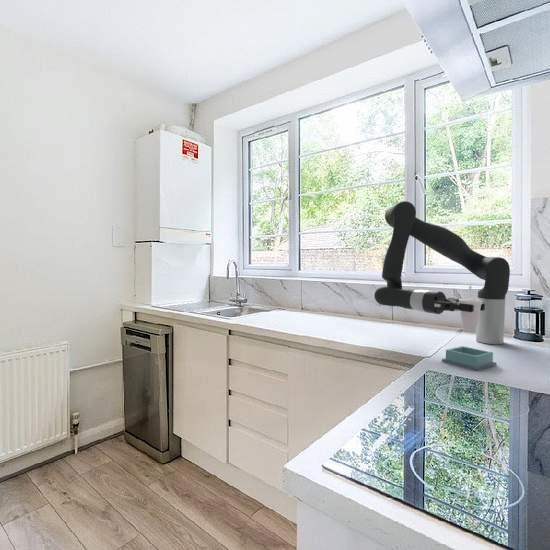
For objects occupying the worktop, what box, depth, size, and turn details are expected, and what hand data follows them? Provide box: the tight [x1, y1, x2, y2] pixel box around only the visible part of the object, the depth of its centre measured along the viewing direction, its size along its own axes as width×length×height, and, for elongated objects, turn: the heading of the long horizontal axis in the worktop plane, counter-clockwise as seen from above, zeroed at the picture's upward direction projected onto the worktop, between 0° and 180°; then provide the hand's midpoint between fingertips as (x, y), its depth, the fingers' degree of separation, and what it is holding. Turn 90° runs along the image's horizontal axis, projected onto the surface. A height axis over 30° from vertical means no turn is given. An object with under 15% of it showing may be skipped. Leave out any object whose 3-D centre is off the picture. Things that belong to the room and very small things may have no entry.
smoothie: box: [458, 285, 482, 334], centre depth 107 cm, size 6×6×14 cm
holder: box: [441, 345, 497, 372], centre depth 108 cm, size 11×11×4 cm
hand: (478, 307), depth 105 cm, fingers closed on smoothie, 6 cm apart
